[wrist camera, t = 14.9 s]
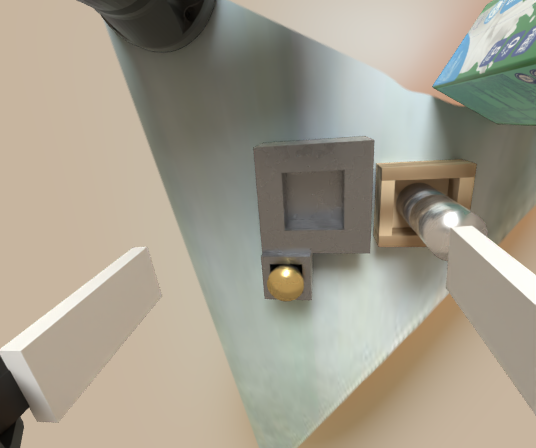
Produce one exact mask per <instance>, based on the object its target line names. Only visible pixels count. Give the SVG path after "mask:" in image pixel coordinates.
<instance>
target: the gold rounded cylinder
mask: <svg viewBox="0 0 536 448" xmlns="http://www.w3.org/2000/svg"><path fill="white" fill-rule="evenodd" d="M300 266H301V264H278V266H277V268H275V269H273V270H272V271H271V273H270V274H269V277H268V280H267V287H268V290H269V292H270V293H271V295H272V296H273V297H275V298H276V299H278V300H281V301H292V300H295V299H297V298H298V297H299V296H300V295H301V294H302V292H303V288H304V279H303V276H302V275H301V273H300Z"/></svg>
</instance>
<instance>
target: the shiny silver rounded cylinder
mask: <svg viewBox="0 0 536 448" xmlns="http://www.w3.org/2000/svg"><path fill="white" fill-rule="evenodd" d="M396 207H397V210H398V212H399V214H400V215H401V216H402V217H403V218H404V219H405V221H406V222H407V223H408V224H409V225H410V227H411V228H412V229H413V230H414V231H415V232H416V234H417V235H418V236H419V237H420V238H421V240H422V241H423V242H424V243H425V244H426V246H427V247H428V248H429V249H430V250H431V251H432V253H433V254H434V255H435V256H437V257H438V258H440V259H442V260H445V261H448V255H449V241H450V228H451V227H461V226H473V227H474V228H476V229H477V230H478V231H480V232H481V233H482V234H483V235H485V236H486V237H487V235H488V231H487V226H486V224H485V222H484V221H483V219H482V218H481V217H479V216H478V215H476V214H475V213H473V212H472V211H470V210H468V209H467V208H465V207H464V206H462V205H460V204H459V203H457V202H456V201H454V200H452V199H451V198H449V197H447V196H446V195H444V194H443V193H441V192H439V191H438V190H436V189H435V188H433V187H431V186H430V185H428V184H425V183H413V184H410V185H408V186H406V187H405V188H404V189H403V190H402V191H401V192H400V193H399V195H398V197H397V200H396Z"/></svg>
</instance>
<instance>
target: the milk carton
mask: <svg viewBox="0 0 536 448" xmlns="http://www.w3.org/2000/svg"><path fill="white" fill-rule="evenodd" d="M432 87H433V88H434V89H436V90H438V91H440V92H442V93H444V94H445V95H447V96H449V97H450V98H452V99H454V100H456V101H457V102H459V103H461V104H463V105H465V106H466V107H468V108H470V109H472V110H473V111H475V112H477V113H479V114H480V115H482V116H484V117H486V118H488V119H489V120H491V121H493V122H495V123H496V124H507V125H532V126H536V0H493V1H492V2H490V3H489V4H487V5H486V6H485V8H484V9H483V11H482V13H481V14H480V15H479V17H478V18H477V20H476V21H475V23H474V25H473V26H472V28H471V29H470V30H469V32H468V33H467V35H466V37H465V38H464V39H463V41H462V42H461V44H460V45H459V47H458V49H457V50H456V51H455V53H454V55H453V56H452V57H451V59H450V61H449V62H448V63H447V65H446V67H445V68H444V69H443V71H442V73H441V74H440V75H439V77H438V78H437V80H436V81H435V83H434V84H433V86H432Z"/></svg>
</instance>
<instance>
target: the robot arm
mask: <svg viewBox="0 0 536 448" xmlns="http://www.w3.org/2000/svg"><path fill="white" fill-rule="evenodd" d="M78 1H80V2H82V3H84V4H86V5H88V6H90V7H92V8H94V9H95V10H96V11H97V12H98V13H99V14H100V15H101V16H102V18H103V19H104V20H105V21H106V23H107V24H108V25H109V26H110V27H111V28H112V29H113V30H114V31H115V32H116V33H117V34H118V35H119V36H121V37H122V38H123V39H125V40H126V41H128V42H130V43H132V44H134V45H136V46H139V47H141V48H144V49H147V50H150V51H155V52H169V51H174V50H177V49H180V48H182V47H184V46H186V45H187V44H189V43H190V42H192V41H193V40H194V39H195V38H196V37H197V36H198V35H199V34H200V33H201V31H202V30H203V29H204V27H205V25H206V24H207V22H208V20H209V18H210V16H211V13H212V10H213V7H214V4H215V0H78ZM446 288H447V290H448V291H449V293H450V294H451V296H452V297H453V298H454V300H455V301H456V303H457V304H458V306H459V307H460V308H461V310H462V311H463V313H464V314H465V315H466V317H467V318H468V320H469V321H470V322H471V324H472V325H473V327H474V328H475V330H476V331H477V333H478V334H479V335H480V337H481V338H482V340H483V341H484V343H485V344H486V345H487V347H488V348H489V349H490V351H491V352H492V354H493V355H494V357H495V358H496V359H497V361H498V362H499V364H500V365H501V367H502V368H503V370H504V371H505V372H506V374H507V375H508V377H509V378H510V379H511V381H512V382H513V384H514V385H515V387H516V388H517V389H518V391H519V392H520V394H521V395H522V397H523V398H524V399H525V401H526V402H527V404H528V405H529V407H530V408H531V409H532V411H533V412H534V414H535V415H536V275H535V274H534V273H532V272H531V271H530V270H528V269H527V268H526V267H525V266H523V265H522V264H521V263H519V262H518V261H517V260H515V259H514V258H513V257H512V256H510V255H509V254H508V253H507V252H505V251H504V250H502V249H501V248H500V247H499V246H498V245H496V244H495V243H494V242H492V241H491V240H490V239H489V238H487V237H486V236H485V235H483V234H482V233H481V232H480V231H478V230H477V229H476V228H474V227H473V226H461V227H451V228H450V241H449V255H448V268H447V281H446ZM161 296H162V294H161V291H160V287H159V284H158V281H157V278H156V274H155V271H154V268H153V264H152V261H151V257H150V254H149V251H148V247H133V248H131V249H130V250H129V251H128V252H126V253H125V254H124V255H122V256H121V257H120V258H118V259H117V260H116V261H115V262H113V263H112V264H111V265H109V266H108V267H107V268H106V269H104V270H103V271H101V272H100V273H99V274H98V275H96V276H95V277H94V278H92V279H91V280H90V281H88V282H87V283H86V284H84V285H83V286H82V287H81V288H79V289H78V290H77V291H75V292H74V293H73V294H71V295H70V296H69V297H68V298H66V299H65V300H64V301H62V302H61V303H60V304H58V305H57V306H56V307H54V308H53V309H52V310H51V311H49V312H48V313H47V314H45V315H44V316H43V317H41V318H40V319H39V320H37V321H36V322H35V323H33V324H32V325H31V326H30V327H28V328H27V329H26V330H24V331H23V332H22V333H20V334H19V335H18V336H17V337H15V338H14V339H13V340H11V341H10V342H9V343H7V344H6V345H5V346H4V347H2V348H1V349H0V448H20V445H21V440H22V434H23V429H24V425H23V421H22V419H21V417H20V416H21V415H22V414H23V413H24V412H25V411H26V410H27V409H28V408H30V410H31V411H32V413H33V415H34V417H35V419H36V420H37V422H38V421H39V422H53V423H54V422H55V423H58V422H59V421H60V420H61V419H62V418H63V416H64V415H65V414H66V413H67V411H68V410H69V409H70V408H71V407H72V405H73V404H74V403H75V402H76V400H77V399H78V398H79V397H80V396H81V394H82V393H83V392H84V391H85V389H86V388H87V387H88V386H89V385H90V383H91V382H92V381H93V380H94V378H95V377H96V376H97V374H99V372H100V371H101V370H102V369H103V367H104V366H105V365H106V364H107V363H108V361H109V360H110V359H111V358H112V356H113V355H114V354H115V353H116V352H117V350H118V349H119V348H120V347H121V345H122V344H123V343H124V342H125V341H126V339H127V338H128V337H129V336H130V335H131V333H132V332H133V331H134V329H135V328H136V327H137V326H138V325H139V324H140V322H141V321H142V320H143V319H144V317H145V316H146V315H147V314H148V313H149V311H150V310H151V309H152V308H153V306H154V305H155V304H156V303H157V302H158V300H159V299H160V298H161Z"/></svg>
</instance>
